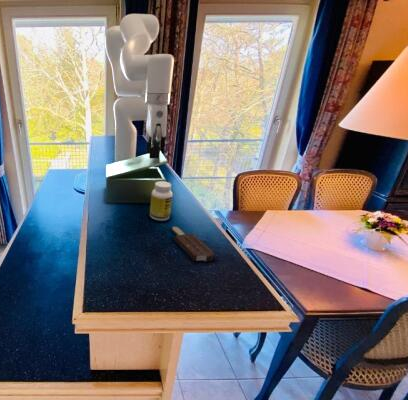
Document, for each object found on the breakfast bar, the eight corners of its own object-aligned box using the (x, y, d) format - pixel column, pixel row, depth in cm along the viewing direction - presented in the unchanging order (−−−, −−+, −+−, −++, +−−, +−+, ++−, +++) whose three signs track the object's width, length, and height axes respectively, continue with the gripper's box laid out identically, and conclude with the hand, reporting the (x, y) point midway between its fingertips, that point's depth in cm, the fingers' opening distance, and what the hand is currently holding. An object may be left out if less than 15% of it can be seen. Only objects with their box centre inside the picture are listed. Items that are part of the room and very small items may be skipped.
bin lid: (160, 152, 96) (157, 138, 94) (168, 162, 85) (165, 147, 83) (106, 167, 99) (102, 154, 97) (106, 179, 88) (102, 164, 86)
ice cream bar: (165, 231, 75) (196, 264, 62) (165, 226, 74) (197, 258, 61) (181, 228, 76) (215, 260, 63) (182, 223, 76) (217, 254, 63)
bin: (156, 189, 103) (158, 167, 99) (163, 203, 91) (165, 179, 87) (106, 188, 103) (106, 167, 99) (106, 203, 92) (106, 179, 88)
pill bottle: (165, 223, 79) (170, 189, 74) (146, 218, 82) (149, 185, 77) (172, 215, 84) (176, 182, 79) (153, 210, 87) (156, 178, 82)
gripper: (176, 101, 75) (169, 163, 83) (163, 96, 90) (158, 149, 98) (150, 101, 75) (145, 163, 83) (141, 97, 90) (138, 149, 98)
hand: (152, 155), depth 90 cm, fingers closed on bin lid, 5 cm apart
